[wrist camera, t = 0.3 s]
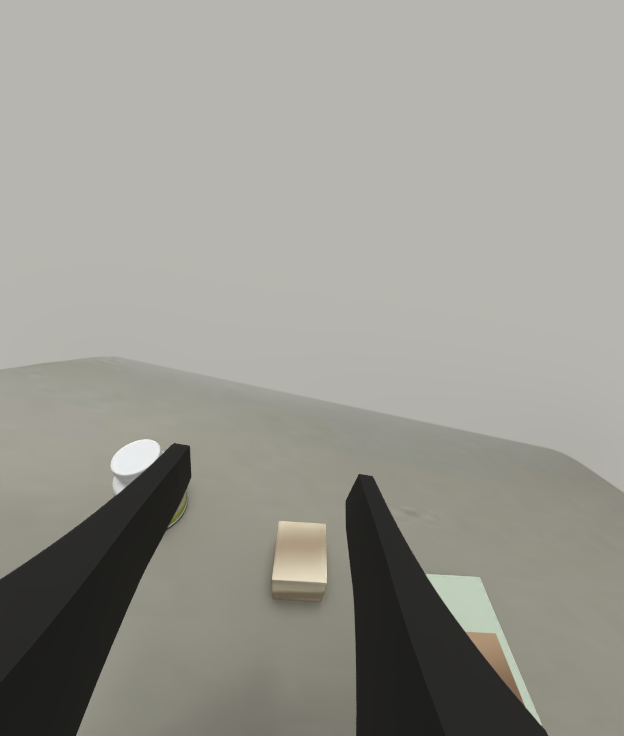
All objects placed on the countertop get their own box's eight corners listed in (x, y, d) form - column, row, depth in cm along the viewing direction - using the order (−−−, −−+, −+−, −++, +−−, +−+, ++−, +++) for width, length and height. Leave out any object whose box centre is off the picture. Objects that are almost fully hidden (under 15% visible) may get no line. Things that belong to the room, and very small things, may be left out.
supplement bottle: (191, 483, 32) (174, 430, 26) (183, 529, 28) (160, 477, 22) (143, 490, 31) (115, 436, 25) (127, 539, 26) (88, 487, 21)
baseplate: (641, 989, 12) (657, 1000, 12) (399, 983, 12) (405, 995, 12) (475, 580, 26) (479, 577, 25) (357, 573, 25) (359, 569, 25)
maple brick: (320, 601, 24) (326, 582, 21) (272, 598, 23) (271, 579, 21) (320, 546, 27) (325, 524, 24) (279, 543, 27) (279, 521, 24)
